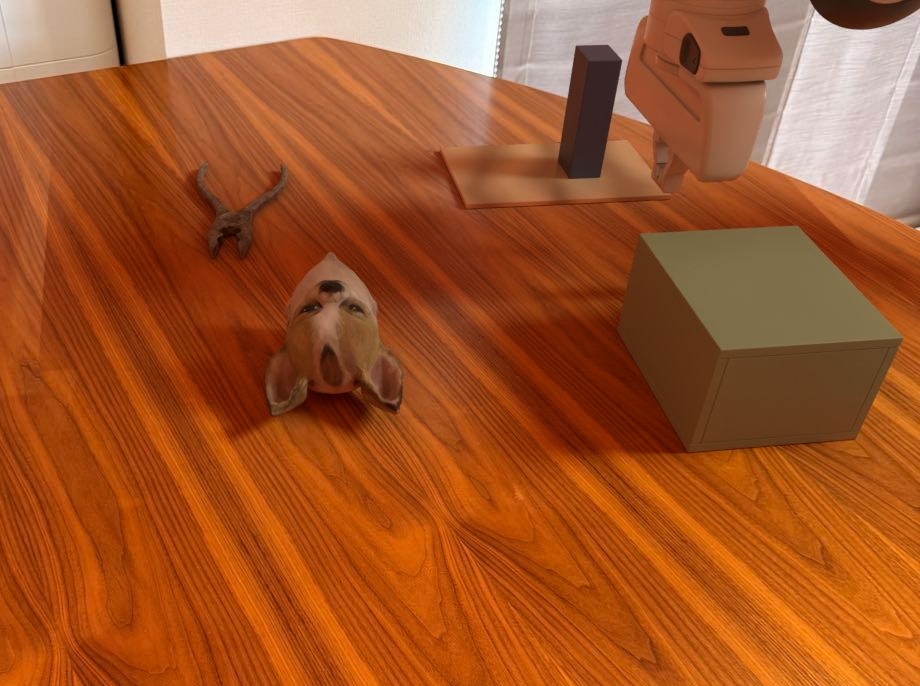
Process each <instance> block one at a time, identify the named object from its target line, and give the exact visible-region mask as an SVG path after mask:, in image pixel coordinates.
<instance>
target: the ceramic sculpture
mask: <svg viewBox="0 0 920 686" xmlns="http://www.w3.org/2000/svg"><path fill="white" fill-rule="evenodd" d="M291 294H292V295H291V297H290V299H289V300H288V301H287V302H286V303H285V309H284V310H285V316H286V318H287V320H286V324H285V326H286V334H285V339H284V342H283V344H282V345H281V347H279V348H278V349H277V350H275V351H274V352H273V353H272V354H271V356H270V357H269V358H268V359H267V361H266V362H267V365H266V369H265V371H264V373H263V378H262V379H263V385H264V394H265V401H266V406H267V408H268V410H269V415H270V416H271V417H272V418H277V417H279V416H280V415H283V414H285V413H288V412H290V411H292V410H293V409H295V408H297V407H299V406H300V405H302V404H303V403H304V402H305V400H306V399H307V395H308V389H309V390H311V391H313V392H316V393H320V394H321V393H322V394H332V395H335V394H343V393H344V394H345V393H349V392H350V393H351V392H353V391H355V390H357V389H359V388H360V391H361V392H360V393H361V396H362V399H363V400H364V401H365V402H366V403H368V405H369V404H370V405H371V406H373V407H375V408H376V409H379V410H382V411H385V412H387V413H389V414H392V415H398V414H399V412H400V408H401V405H402V403H403V391H404V371H403V369H402V367H401V366H400V359H399V356H397V354H395V352H393V350H391V349H390V348H388V347H387V346H386V345H384V344H383V342H382V340H381V337H380V333H379V322H378V319H377V315H378V313H379V307H378V303H377V301H376V300H375V299H374V298H373V296H372V295H371V293H370V290H369V289H368V287H367V285H366V284H365V283H364V281H362V279H361V278H360V277H359V276H358V275H357V273H355V271H353V269H351V268H350V267H348V265H346V264H345V263H343V262H342V261H340V259H339V258H338V256H336V254H335V253H334V252H332V251H329V252H328V253H326V254H325V255H324V257H323V258H322V259H321V261H319V262H318V263H317V264H315V265H314V266H313V267H312V268H311V269H310V270H309V271H307V272H306V273H305V275H304V276H303V278H302V279H301V280H299V283H297V284H296V287H295V289H294V290H293V292H292V293H291Z"/></svg>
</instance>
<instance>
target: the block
mask: <svg viewBox="0 0 920 686" xmlns="http://www.w3.org/2000/svg"><path fill="white" fill-rule="evenodd" d="M622 65H623V59H622V57H620V56H619V55H618V53H617V52H616V51H615V50H614V48H612V47H611V46H610V45H609V44H581V45H578V44H577V45H575V48H574V54H573V61H572V65H571V66H572V67H571V73H570V79H569V86H568V92H567V100H566V106H565V112H564V118H563V125H562V130H561V135H560V136H561V137H560V142H559V143H560V149H559V156H558V162H559V164H560V165H561V167H562V169H563V170H564V172H565V173H566V175H567V176H568V178H569V179H578V178H600V176H601V171H602V165H603V160H604V155H605V150H606V144H607V141H608V139H609V133H610V128H611V123H612V118H613V112H614V106H615V101H616V97H617V92H618V86H619V81H620V76H621V71H622Z"/></svg>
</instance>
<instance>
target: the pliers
mask: <svg viewBox="0 0 920 686" xmlns="http://www.w3.org/2000/svg"><path fill="white" fill-rule="evenodd" d="M208 169H209V164H208V162H207V161H205V162H203V163H202V164H201V166H200V168H199V169H198V170H197V173H196V178H195V180H196V181H195V183H196V188H197V190H198V192H199V193H200V195H201V196H202V197H203V198H204V199H205V200H206V201H207V203H209V205H210V206H211V207H212V208H213V210H214V212H215V213H216V214H215V218H214V220H213V221H212V224H211V226H210V228H209V230H208V233H207V234H206V237H207V238H206V240H207V245H208V248H209V249H208V250H209V255H210V258H211V259H214V258H215V257H216V256H217V254H218V252H219V247H220V246H221V245H223V244H224V242H225V238H224V237H227V236H229V235H234V236H235V240H236V245H237V249H238V254H239V258H240V259H244V258H245V256H246V253H247V252H248V250H249V248H250V246H251V244H252V243H253V241H254V236H253V235H254V234H253V231H252V222H253V218H254V215H255V214H256V213H257V211H259V210H260V209H261V208H263V207H264V206H265V205H266V204H268V203H269V202H271V201H272V200H273V199H275V198H276V197H277V196H278V195H280V194H281V193H282V192H283V190H284V189H285V187H286V185H287V182H288V178H289V177H288V169H287V166H286V164H284V163H281V164H280V165H279V169H280V174H281V176H280V179H279V180H278V182H277V184H276V185H275V186H274V187H273V188H271V189H270V190H268V191H266V192H265V193H263V194H262V195H260V196H259V197H257V198H256V199H254V200H252V201H251V202H250V203H248V204H247V205H246V206H244V207H243V208H242V209H241V210H238V211H231V210H229V208H228V207H227V205H226V204H225V203H224V201H222V200H221V199H220V198H219V197H218V196H216V195H215V193H213V192H212V191H211V190H210V189H208V187H207V186H206V185H205V183H204V176H205V174H206V172H207V171H208Z"/></svg>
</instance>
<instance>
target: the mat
mask: <svg viewBox="0 0 920 686" xmlns="http://www.w3.org/2000/svg"><path fill="white" fill-rule="evenodd" d="M560 143H561V142H543V143H519V144H517V143H516V144H495V145H494V144H491V145H465V146H463V145H462V146H442V147H441V146H440V147H439V153H440V154H441V157H442V160H443V162H444V163H445V166H446V167H447V171H448V172H449V174H450V176H451V178H452V181H453V183H454V185H455V187H456V189H457V191H458V192H457V193H458V194H459V196H460V198H461V201H462V202H463V205H464V207H465V209H466V210H469V209H471V210H472V209H491V208H493V209H494V208H510V207H512V208H513V207H531V206H532V207H534V206H535V207H536V206H553V205H554V206H555V205H575V204H596V203H597V204H598V203H619V202H637V201H641V202H642V201H660V200H662V201H663V200H671V195H672V193H663V192H662V190H661V189H660V188H659V186H658V185H657V184H656V183H655V182H654V180H653V179H652V178H651V173H652V168H650V166H649V165H648V164H647V163H646V161H645V160H644V159H643V157H642V156H641V155H640V154H639V153H638V152H637V150H636V149H635V148H634V146H633V145H632V144H631V143H630V141H629V140H628V139H621V140H607V144H606V150H605V155H604V160H603V165H602V171H601V176H600V178H578V179H569V178H568V176H567V175H566V173H565V172H564V170H563V169H562V167H561V165H560V164H559V162H558V156H559V149H560Z"/></svg>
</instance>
